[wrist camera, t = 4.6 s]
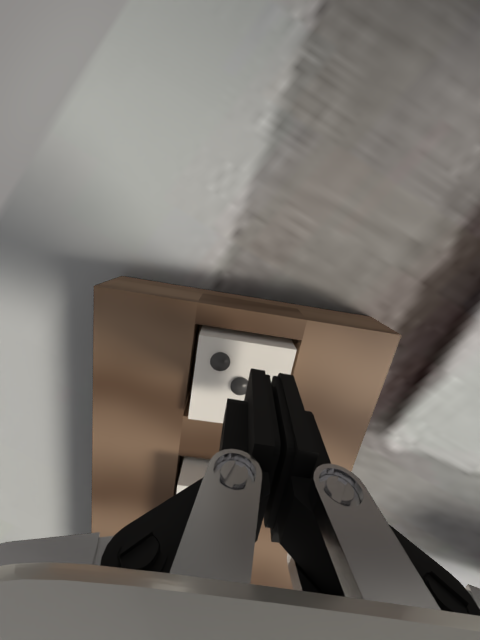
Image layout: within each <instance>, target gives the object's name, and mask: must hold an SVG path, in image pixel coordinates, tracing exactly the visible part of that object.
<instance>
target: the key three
mask: <svg viewBox="0 0 480 640" xmlns="http://www.w3.org/2000/svg"><path fill="white" fill-rule="evenodd" d="M296 351H297V349H296V347H295V346H294V344H293V342H292V340H291V339H290V338H284V337H277V336H271V335H265V334H258V333H252V332H245V331H239V330H232V329H226V328H220V327H213V326H207V325H203V326H202V328H201V331H200V334H199V339H198V347H197V354H196V362H195V369H194V377H193V384H192V392H191V399H190V407H189V415H188V419H193V420H201V421H208V422H216V423H223V420H224V414H225V409H226V403H227V399H228V398H229V399H236V400H242V401H244V399H245V394H246V389H247V384H248V379H249V374H250V370H251V368H253V369H259V370H265V374H267V375H270V379H271V382H272V378H273V376H278V374H279V373H283V374H290V375H291V371H292V367H293V363H294V359H295V355H296Z"/></svg>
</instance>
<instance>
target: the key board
mask: <svg viewBox="0 0 480 640" xmlns="http://www.w3.org/2000/svg"><path fill="white" fill-rule="evenodd" d="M203 325H207V326H213V327H220V328H226V329H232V330H239V331H245V332H252V333H258V334H265V335H271V336H277V337H284V338H290V339H291V340H292V342H293V344H294V346H295V347H296V349H297V351H296V355H295V359H294V363H293V367H292V371H291V375H293V376H294V378H295V381H296V384H297V387H298V391H299V394H300V397H301V400H302V403H303V406H304V409H305V411H311V412H312V413H313V415H314V418H315V420H316V423H317V426H318V429H319V431H320V434H321V437H322V440H323V442H324V445H325V448H326V451H327V453H328V456H329V459H330V462H331V464H335V465H339V466H341V467H344V468H346V469H347V470H349V471H350V472H351V470H352V468H353V465H354V462H355V460H356V457H357V454H358V451H359V449H360V446H361V443H362V441H363V438H364V435H365V432H366V430H367V427H368V424H369V422H370V419H371V416H372V413H373V411H374V408H375V405H376V403H377V400H378V397H379V394H380V392H381V389H382V386H383V384H384V381H385V378H386V376H387V373H388V370H389V367H390V365H391V362H392V359H393V357H394V354H395V351H396V348H397V346H398V343H399V340H400V338H401V335H400V334H399V333H397V332H395V331H394V330H392V329H390V328H389V327H387V326H385V325H384V324H382V323H380V322H379V321H377V320H375V319H374V318H372V317H370V316H364V315H358V314H351V313H345V312H339V311H333V310H327V309H321V308H315V307H309V306H303V305H297V304H290V303H284V302H278V301H272V300H266V299H260V298H254V297H248V296H242V295H235V294H229V293H223V292H217V291H211V290H205V289H199V288H193V287H187V286H180V285H174V284H168V283H162V282H156V281H150V280H144V279H138V278H132V277H126V276H120V277H117V278H115V279H112V280H109V281H106V282H103V283H100V284H98V285H95V286H94V319H93V427H92V533H96V532H100V537H107V536H114V535H115V534H116V533H117V532H119V531H120V530H121V529H122V528H124V527H125V526H126V525H128V524H129V523H131V522H133V521H134V520H136V519H137V518H139V517H141V516H142V515H144V514H145V513H147V512H149V511H150V510H152V509H153V508H155V507H157V506H158V505H160V504H161V503H163V502H165V501H166V500H168V499H169V498H171V497H173V496H174V495H176V492H177V485H178V481H179V476H180V472H181V468H182V464H183V459H184V456H188V457H196V458H204V459H211V458H212V456H214V455H215V454H216V453H217V452H219V448H220V440H221V433H222V426H223V423H216V422H208V421H201V420H193V419H188V415H189V407H190V399H191V392H192V384H193V377H194V369H195V362H196V354H197V347H198V339H199V334H200V331H201V328H202V326H203ZM287 554H288V553H287V552H286V550H285V549H284V548H283V547H282V546H281V545H280V543H277V542H271V533H270V528H265V526H264V518H263V521H262V525H261V529H260V532H259V536H258V540H257V541H256V542H255V546H254V555H253V564H252V573H251V582H250V584H254V585H262V586H269V587H277V588H284V589H291V590H293V586H292V582H291V578H290V574H289V570H288V564H287Z"/></svg>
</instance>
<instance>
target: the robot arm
mask: <svg viewBox="0 0 480 640" xmlns="http://www.w3.org/2000/svg"><path fill="white" fill-rule="evenodd" d="M263 518H264V526H265V528H270V533H271V542H277V543H280V545H281V546H282V547H283V548H284V549H285V550H286V552H287V553H288V554H287V564H288V570H289V574H290V578H291V582H292V586H293V590H291V589H284V588H277V587H269V586H262V585H254V584H250V582H251V573H252V564H253V555H254V546H255V542H256V541H257V540H258V536H259V532H260V529H261V525H262V521H263ZM0 640H480V589H479V588H477V587H474V586H471V585H469V584H468V585H467V586H466V588H464V586H463V585H462V584H461V583H460V582H459V581H458V580H457V579H456V578H455V577H454V576H452V575H451V574H450V573H449V572H448V571H447V570H445V569H444V568H443V567H442V566H440V565H439V564H438V563H437V562H435V561H434V560H433V559H432V558H430V557H429V556H428V555H427V554H425V553H424V552H423V551H422V550H420V549H419V548H418V547H417V546H415V545H414V544H413V543H412V542H410V541H409V540H408V539H407V538H405V537H404V536H403V535H402V534H400V533H399V532H398V531H397V530H395V529H394V528H393V527H391V526H390V525H389V524H388V523H387V521H386V519H385V518H384V516H383V515H382V513H381V511H380V510H379V508H378V506H377V505H376V503H375V502H374V500H373V498H372V497H371V495H370V493H369V492H368V490H367V489H366V487H365V485H364V484H363V483H362V482H361V480H360V479H359V478H358V477H357V476H356V475H354V474H353V473H352V472H350V471H349V470H347V469H346V468H344V467H341V466H339V465H335V464H331V462H330V459H329V456H328V453H327V451H326V448H325V445H324V442H323V440H322V437H321V434H320V431H319V429H318V426H317V423H316V420H315V418H314V415H313V413H312V412H311V411H305V409H304V406H303V403H302V400H301V397H300V394H299V391H298V387H297V384H296V381H295V378H294V376H293V375H290V374H283V373H279V374H278V376H273V378H272V382H271V379H270V375H267V374H265V370H259V369H253V368H251V370H250V374H249V379H248V384H247V389H246V394H245V399H244V401H242V400H236V399H229V398H228V399H227V403H226V409H225V414H224V420H223V426H222V433H221V440H220V448H219V452H217V453H216V454H215V455H214V456H212V458H211V460H210V461H209V463H208V466H207V469H206V472H205V474H204V477H203V478H201V479H200V480H198V481H196V482H195V483H193V484H192V485H190V486H189V487H187V488H185V489H184V490H182V491H181V492H179V493H177V494H176V495H174V496H173V497H171V498H169V499H168V500H166V501H165V502H163V503H161V504H160V505H158V506H157V507H155V508H153V509H152V510H150V511H149V512H147V513H145V514H144V515H142V516H141V517H139V518H137V519H136V520H134V521H133V522H131V523H129V524H128V525H126V526H125V527H124V528H122V529H121V530H120V531H119V532H117V533H116V534H115V535H114V536H107V537H100V532H96V533H87V534H77V535H68V536H59V537H49V538H40V539H31V540H21V541H12V542H5V543H1V544H0Z"/></svg>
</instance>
